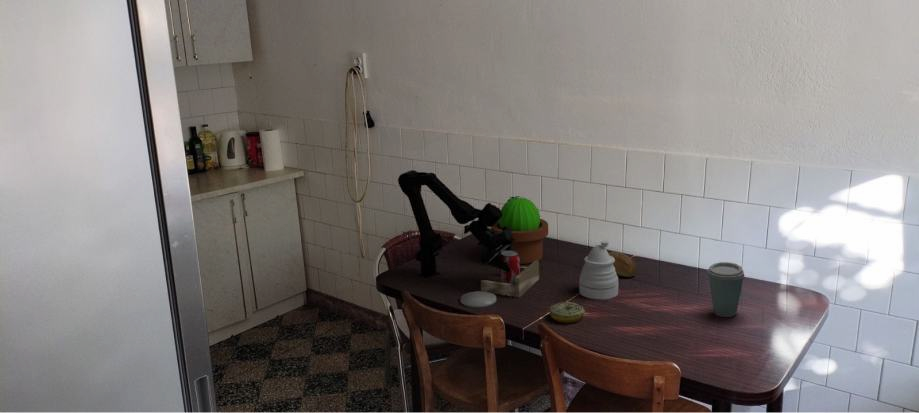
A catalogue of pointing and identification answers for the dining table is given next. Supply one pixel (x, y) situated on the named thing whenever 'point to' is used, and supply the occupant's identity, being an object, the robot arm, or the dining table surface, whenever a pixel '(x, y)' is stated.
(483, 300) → the saucer
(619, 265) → the bread roll
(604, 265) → the honey pot
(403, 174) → the robot arm
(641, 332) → the dining table surface
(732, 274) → the disposable coffee cup
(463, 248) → the dining table surface
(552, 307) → the decorated donut
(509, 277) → the soda can
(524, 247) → the potted cactus
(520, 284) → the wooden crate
